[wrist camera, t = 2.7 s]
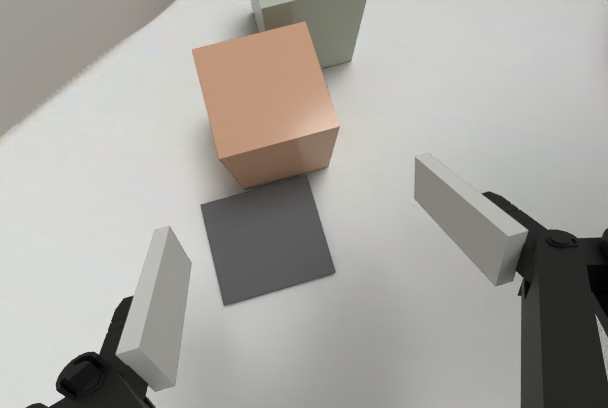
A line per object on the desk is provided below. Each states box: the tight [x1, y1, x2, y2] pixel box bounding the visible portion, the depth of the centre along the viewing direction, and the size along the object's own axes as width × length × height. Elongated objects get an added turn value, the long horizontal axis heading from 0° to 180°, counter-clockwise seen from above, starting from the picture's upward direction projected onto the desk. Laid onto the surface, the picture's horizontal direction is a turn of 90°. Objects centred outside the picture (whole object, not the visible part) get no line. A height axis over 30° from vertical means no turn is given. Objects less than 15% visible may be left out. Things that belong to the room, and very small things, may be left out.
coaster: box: [201, 175, 335, 305], centre depth 31 cm, size 11×10×1 cm
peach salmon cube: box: [192, 21, 340, 189], centre depth 28 cm, size 9×9×10 cm
